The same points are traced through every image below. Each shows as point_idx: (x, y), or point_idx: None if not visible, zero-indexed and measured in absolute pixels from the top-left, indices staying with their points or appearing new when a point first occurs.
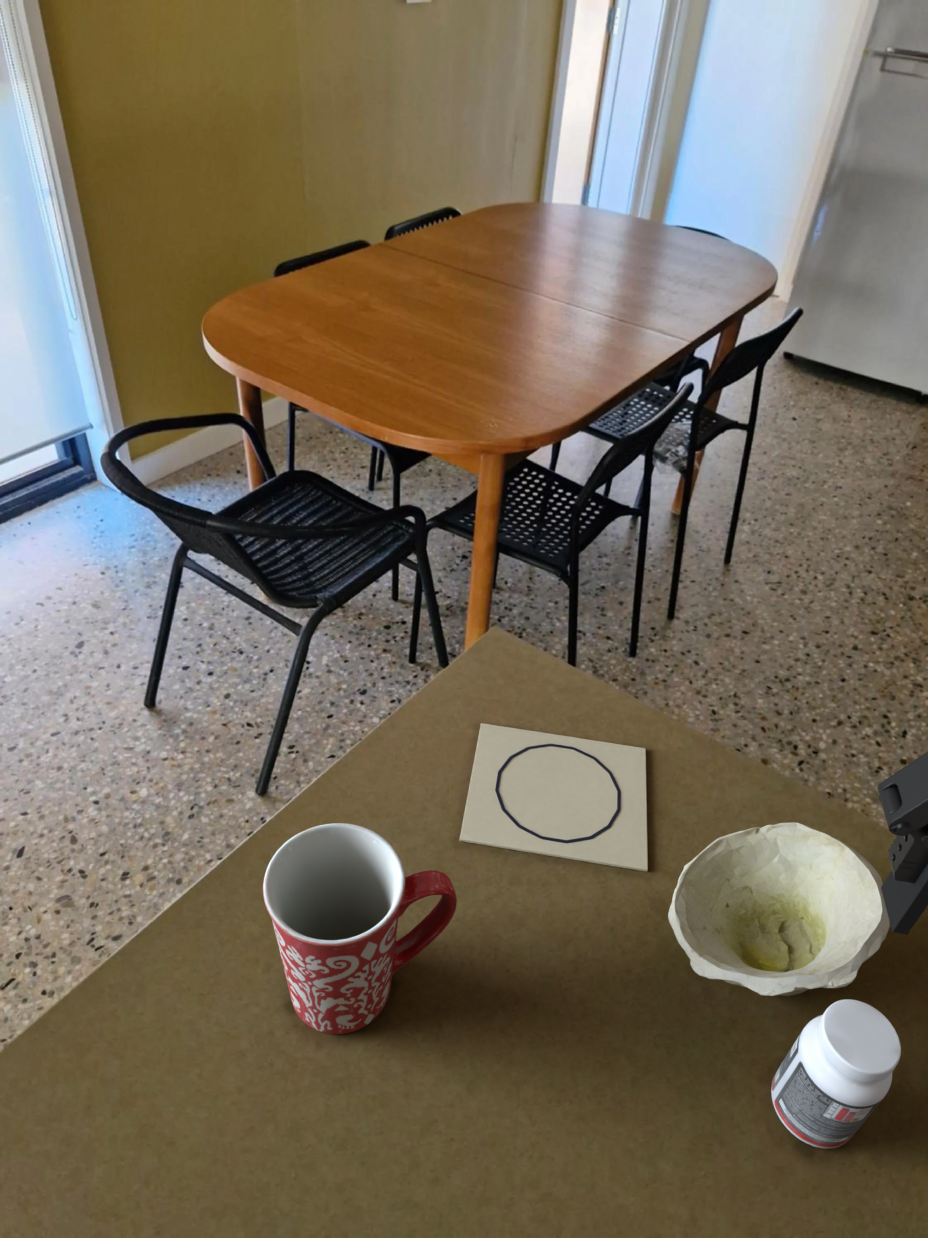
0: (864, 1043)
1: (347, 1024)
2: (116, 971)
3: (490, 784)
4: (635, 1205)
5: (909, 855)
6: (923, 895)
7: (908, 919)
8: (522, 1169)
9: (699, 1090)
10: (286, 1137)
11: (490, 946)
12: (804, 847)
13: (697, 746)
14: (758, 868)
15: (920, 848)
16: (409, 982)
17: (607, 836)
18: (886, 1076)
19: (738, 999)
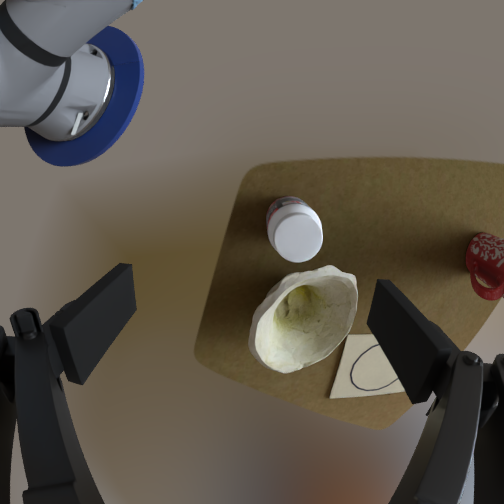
0: (298, 233)
1: (484, 235)
2: None
3: None
4: (382, 166)
5: (451, 343)
6: (412, 309)
7: (393, 289)
8: (425, 180)
9: (346, 220)
10: (492, 192)
11: (427, 281)
12: (281, 359)
13: (299, 403)
14: (301, 344)
15: (453, 352)
16: (458, 258)
17: (363, 349)
18: (285, 216)
19: None
